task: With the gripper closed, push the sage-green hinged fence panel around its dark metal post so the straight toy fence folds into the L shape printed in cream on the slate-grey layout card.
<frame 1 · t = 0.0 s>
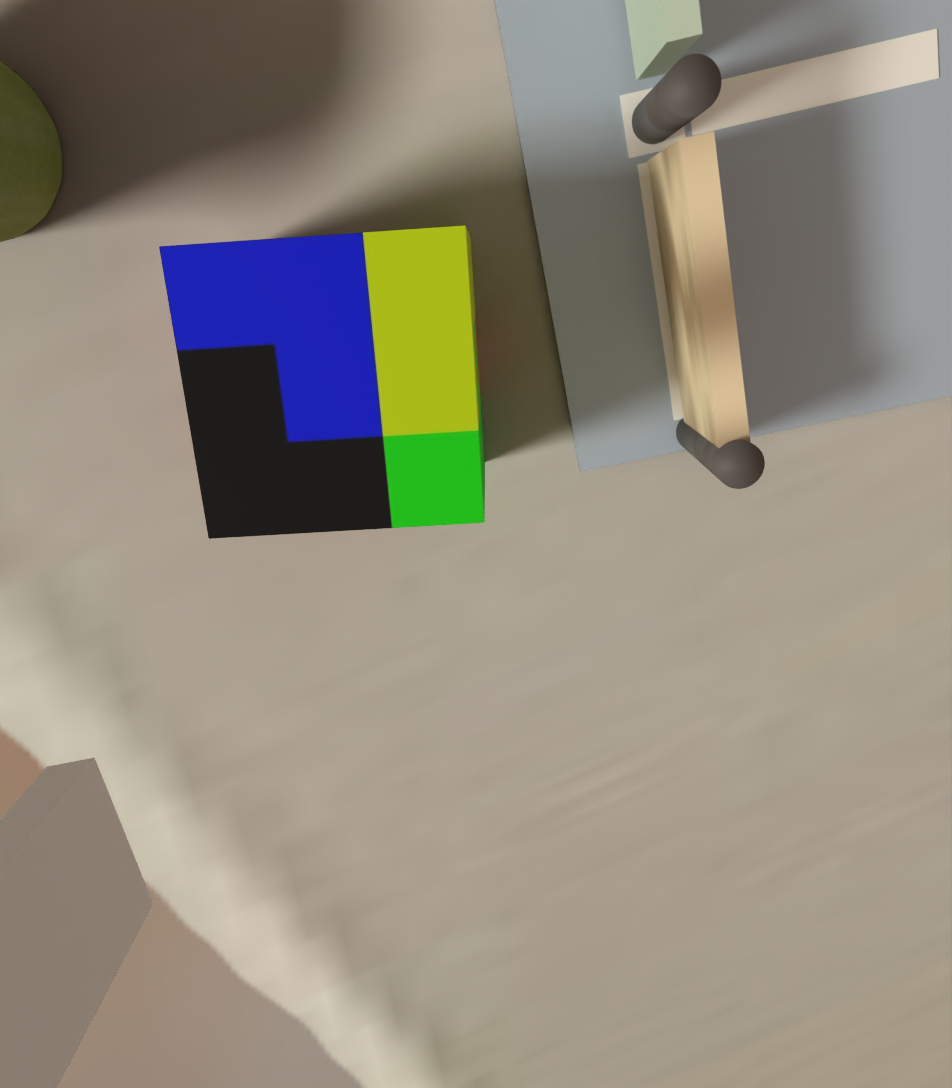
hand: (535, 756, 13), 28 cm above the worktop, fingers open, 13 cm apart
puzzle toy: (368, 360, 39), on the worktop
layout card: (736, 102, 35), on the worktop
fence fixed: (651, 121, 35), resting on layout card
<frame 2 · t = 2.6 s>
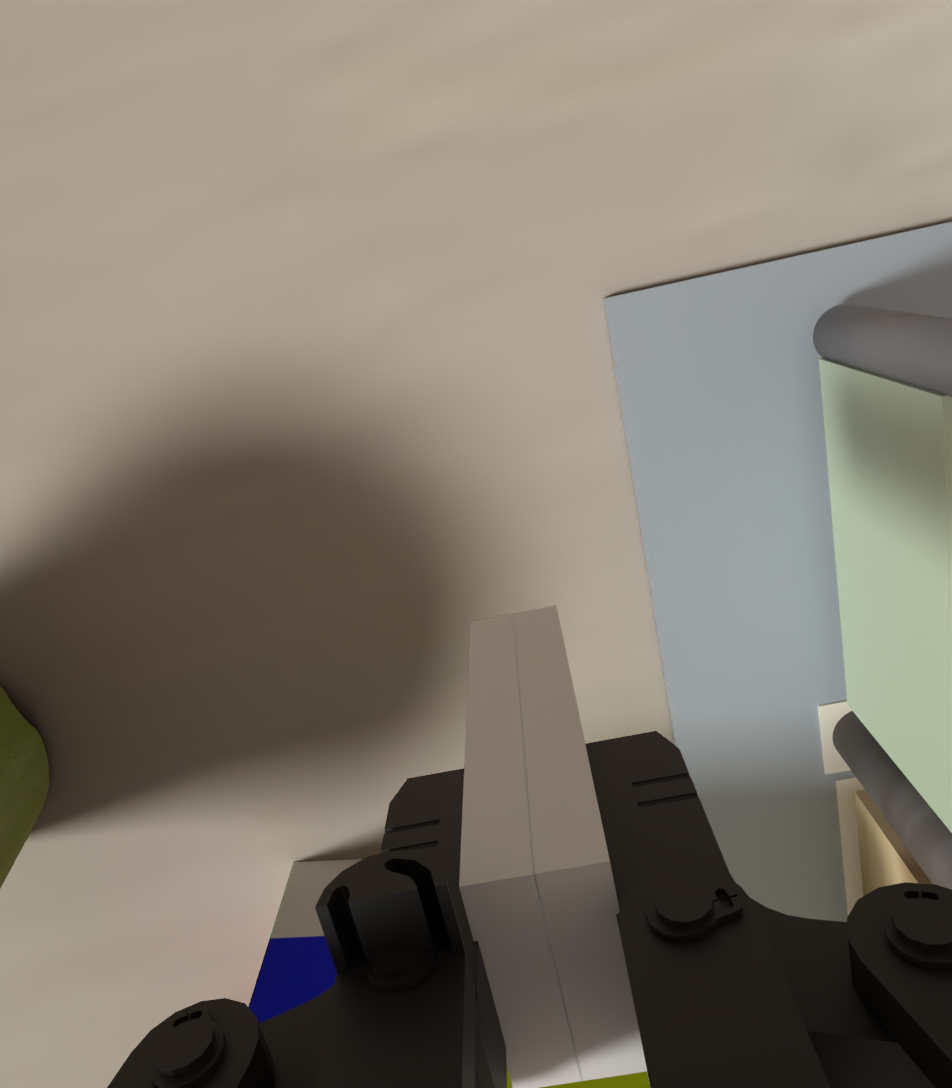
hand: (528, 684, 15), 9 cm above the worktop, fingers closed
puzzle toy: (457, 969, 29), on the worktop
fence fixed: (857, 727, 26), resting on layout card
fence panel: (912, 559, 19), point 4 cm above the worktop, hinge at 0.0°
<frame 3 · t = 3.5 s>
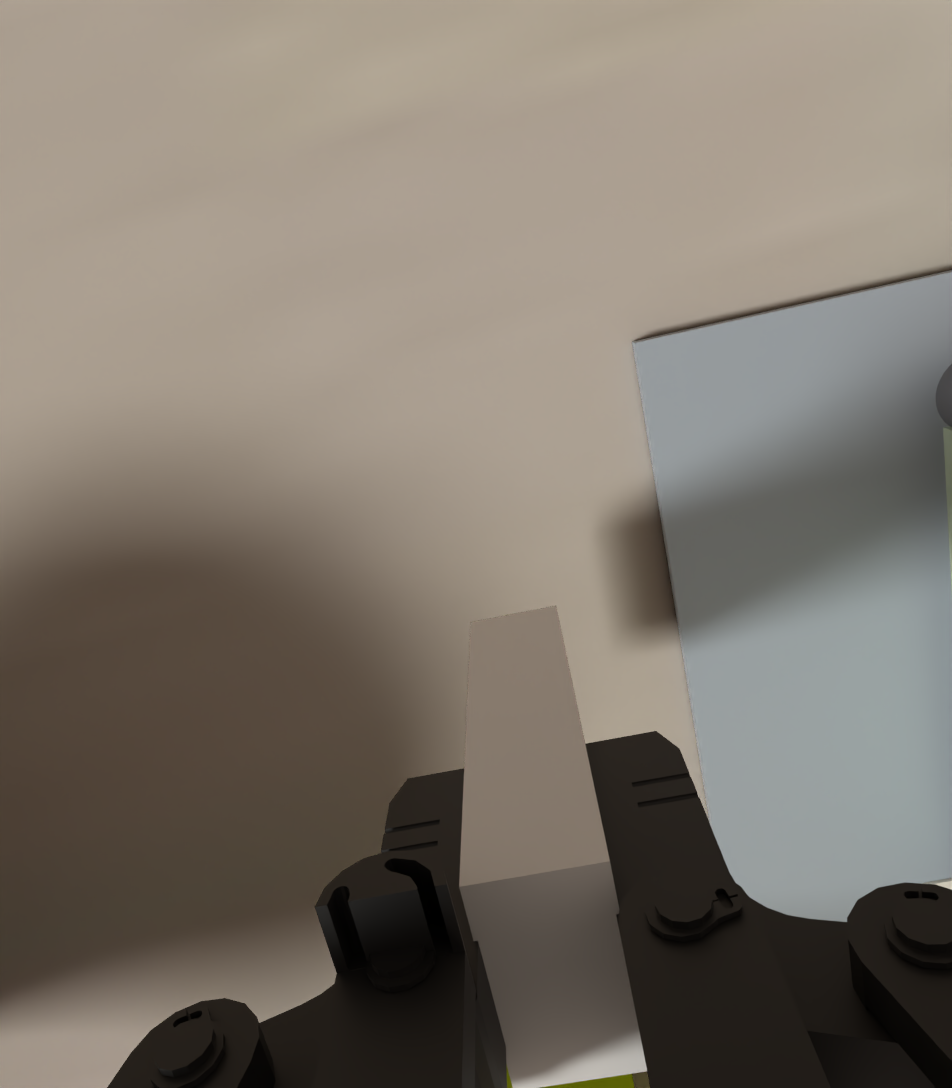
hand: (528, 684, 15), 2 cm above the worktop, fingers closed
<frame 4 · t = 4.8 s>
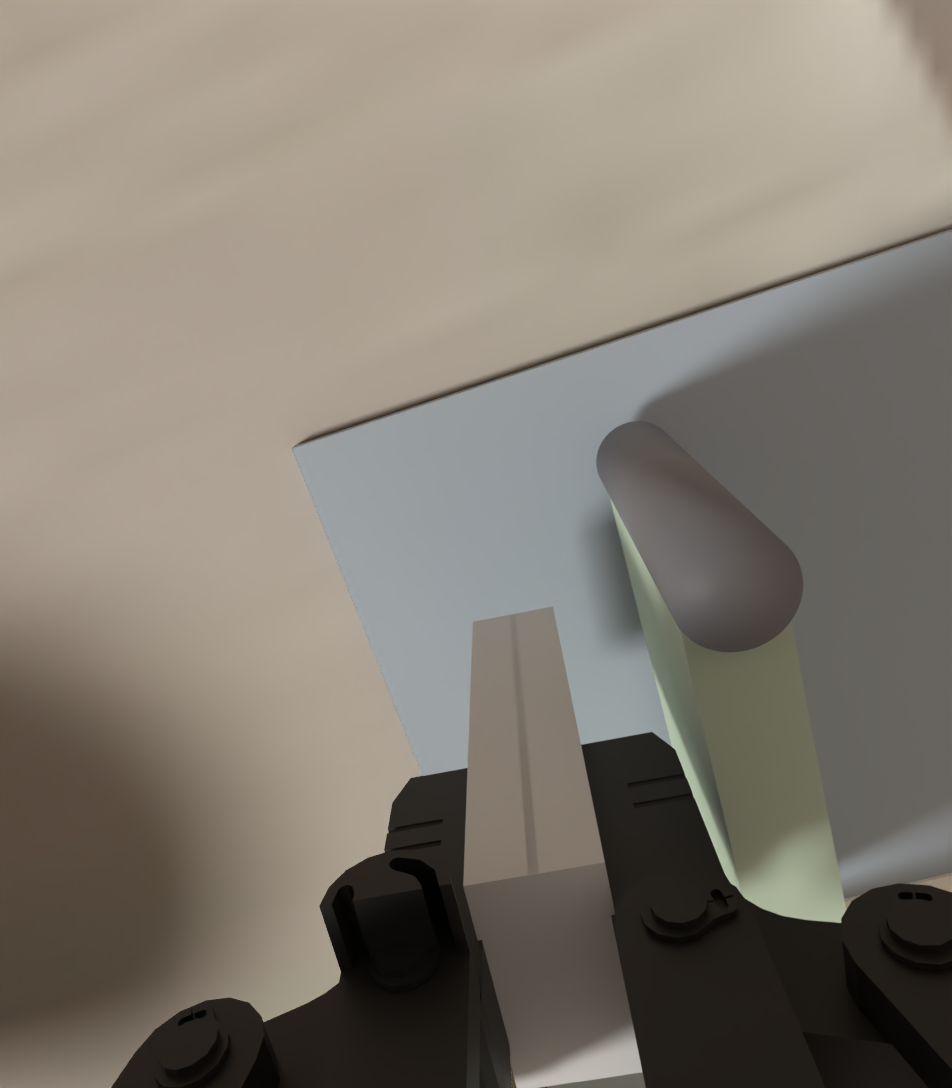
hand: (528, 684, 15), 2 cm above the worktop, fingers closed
layout card: (899, 907, 19), on the worktop
fence panel: (738, 797, 13), point 4 cm above the worktop, hinge at 2.1°, touching gripper
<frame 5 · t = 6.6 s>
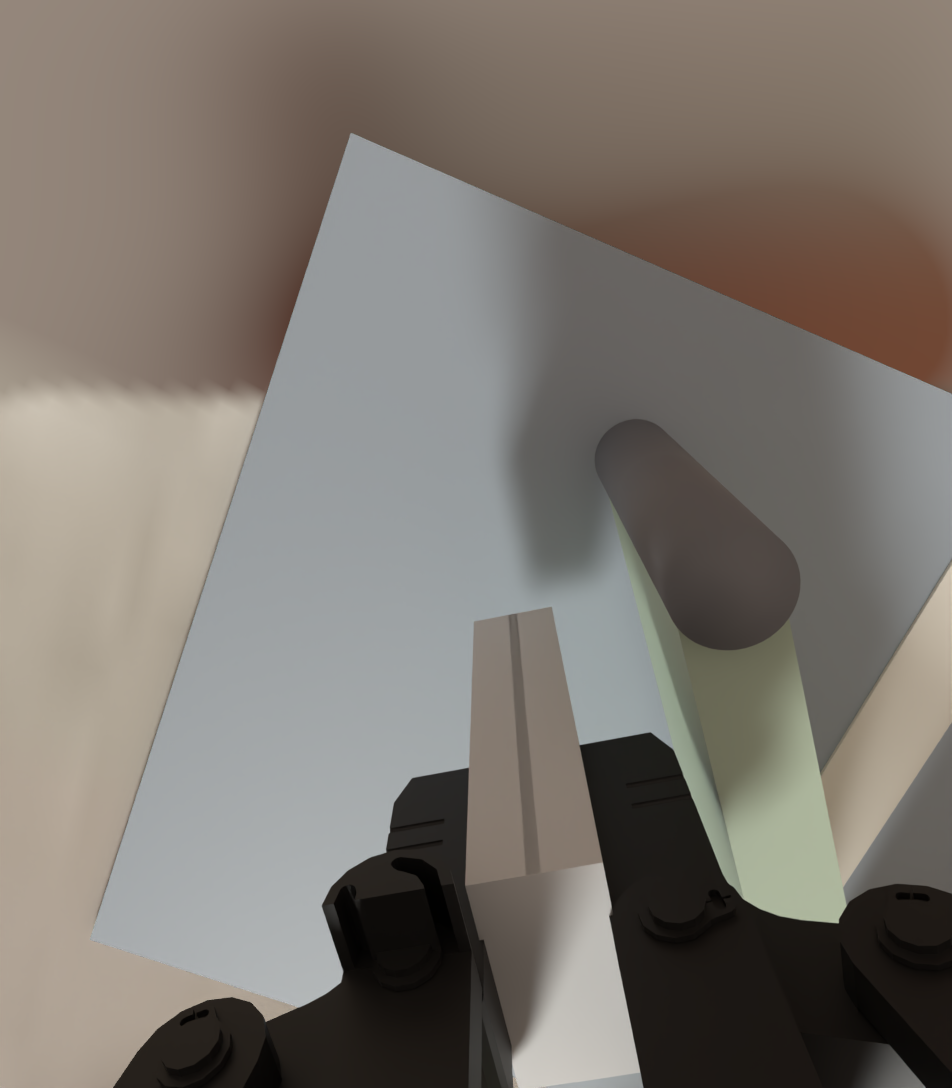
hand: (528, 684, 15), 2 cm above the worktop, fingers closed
layout card: (824, 824, 18), on the worktop
fence panel: (739, 795, 13), point 4 cm above the worktop, hinge at 51.5°, touching gripper
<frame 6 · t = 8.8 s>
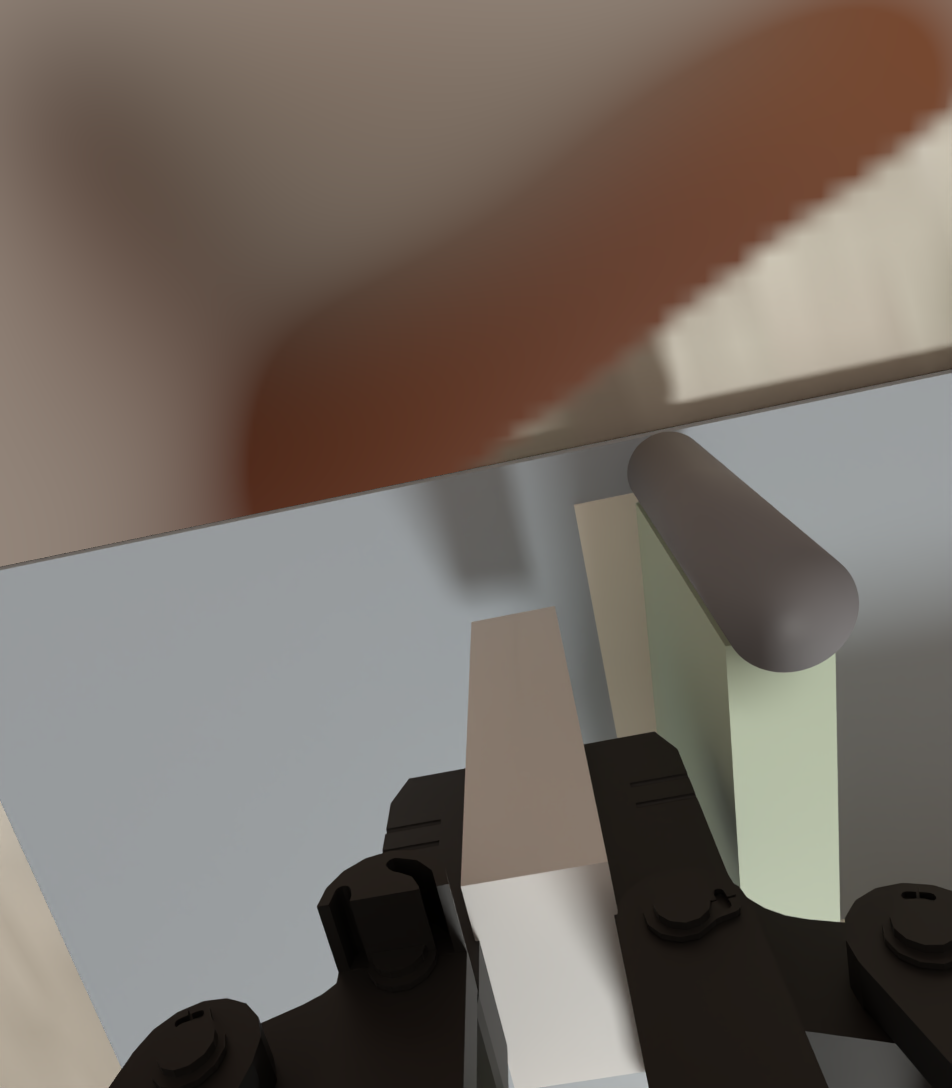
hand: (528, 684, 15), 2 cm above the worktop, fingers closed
layout card: (677, 838, 18), on the worktop
fence panel: (731, 817, 13), point 4 cm above the worktop, hinge at 93.7°, touching gripper
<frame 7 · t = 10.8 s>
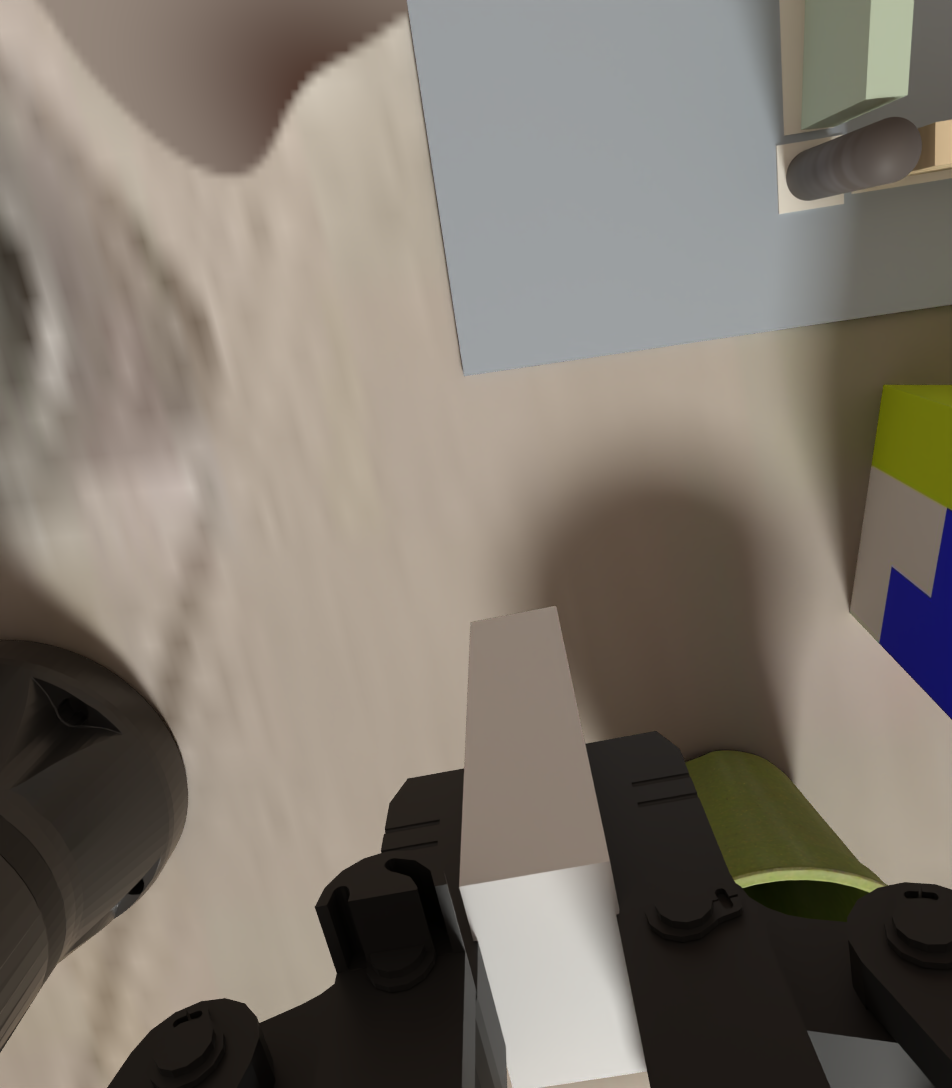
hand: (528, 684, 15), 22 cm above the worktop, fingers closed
plant pot: (717, 810, 41), on the worktop
layout card: (804, 73, 31), on the worktop
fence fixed: (807, 175, 32), resting on layout card
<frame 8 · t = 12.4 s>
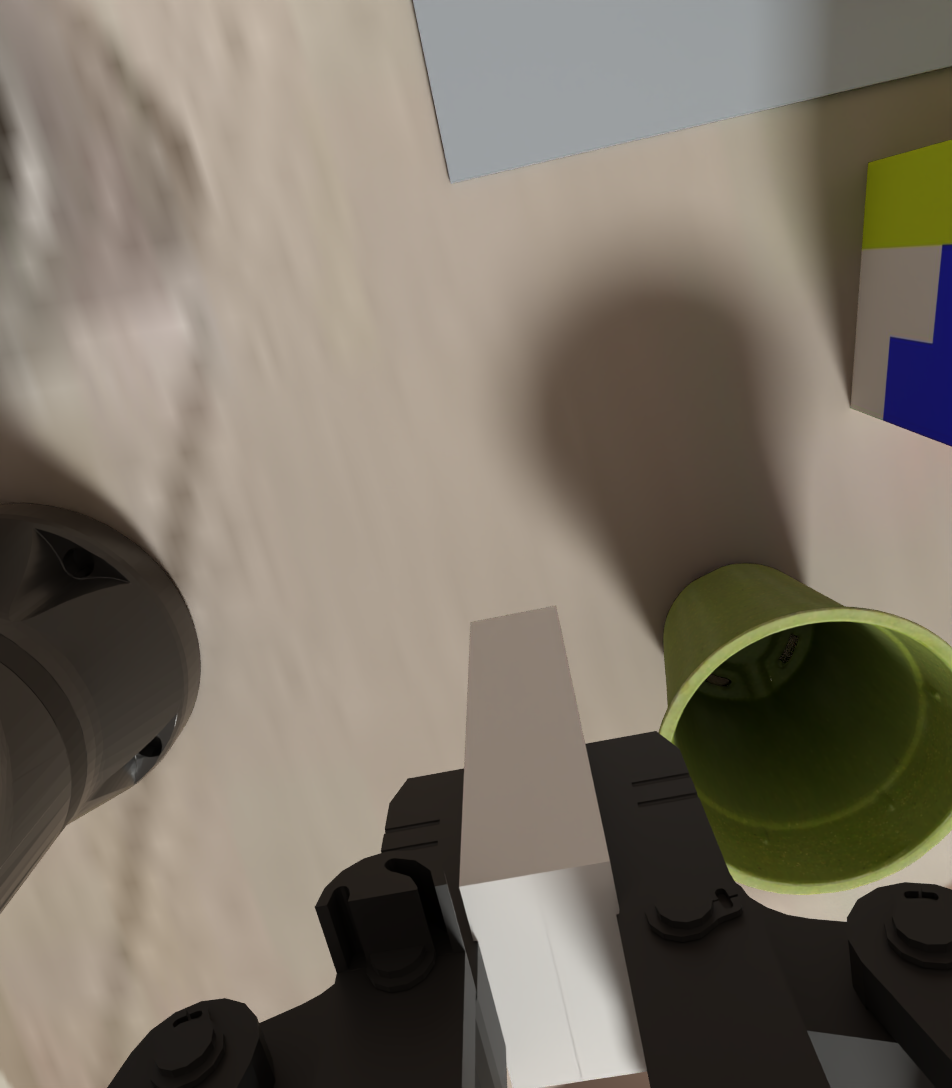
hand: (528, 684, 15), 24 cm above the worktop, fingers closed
plant pot: (733, 631, 41), on the worktop
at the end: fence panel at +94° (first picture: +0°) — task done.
